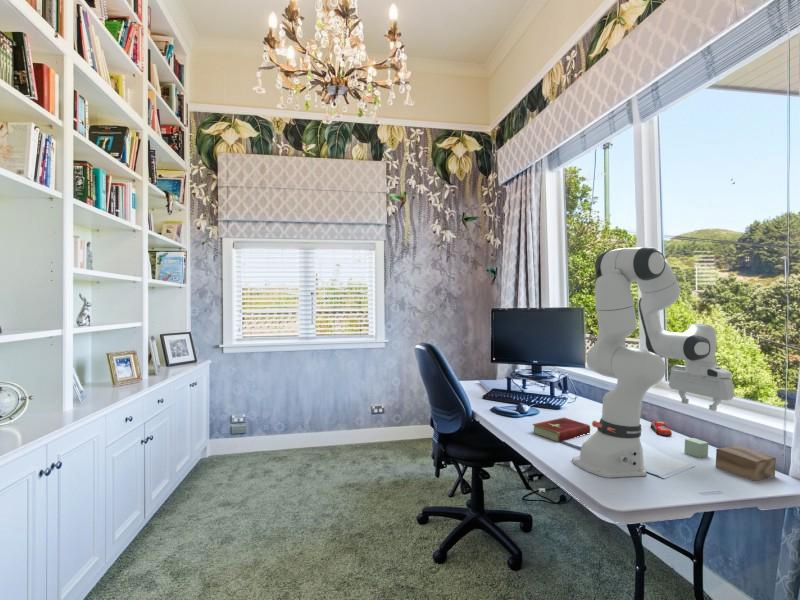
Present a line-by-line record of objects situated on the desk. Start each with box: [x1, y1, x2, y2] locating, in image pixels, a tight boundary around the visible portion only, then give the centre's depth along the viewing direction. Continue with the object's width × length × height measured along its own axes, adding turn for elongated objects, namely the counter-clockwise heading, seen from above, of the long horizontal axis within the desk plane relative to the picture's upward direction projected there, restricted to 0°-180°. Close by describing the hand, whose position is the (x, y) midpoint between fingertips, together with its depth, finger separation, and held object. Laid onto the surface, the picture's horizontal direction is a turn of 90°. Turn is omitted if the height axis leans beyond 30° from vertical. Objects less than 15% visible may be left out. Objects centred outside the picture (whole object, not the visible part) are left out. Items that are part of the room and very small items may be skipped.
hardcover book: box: [532, 417, 591, 443], centre depth 163 cm, size 12×21×4 cm, turn 124°
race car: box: [650, 420, 673, 437], centre depth 171 cm, size 13×5×4 cm, turn 160°
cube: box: [683, 437, 709, 459], centre depth 146 cm, size 5×5×5 cm
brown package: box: [715, 445, 777, 482], centre depth 132 cm, size 11×11×6 cm
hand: (698, 406), depth 146 cm, fingers open, 8 cm apart
